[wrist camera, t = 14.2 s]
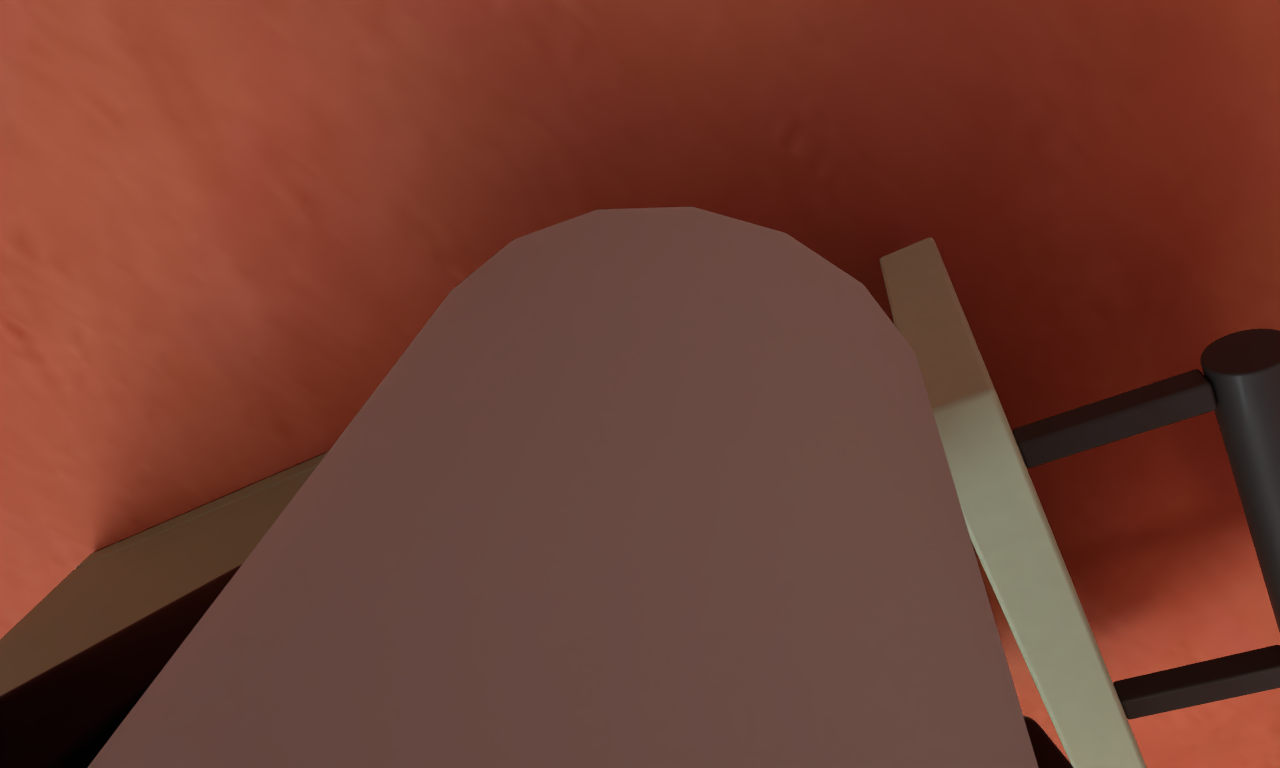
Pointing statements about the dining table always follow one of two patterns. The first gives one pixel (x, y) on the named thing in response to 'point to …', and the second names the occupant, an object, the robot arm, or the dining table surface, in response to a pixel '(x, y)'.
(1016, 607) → the drawer
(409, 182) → the dining table surface
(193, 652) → the can
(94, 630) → the cabinet
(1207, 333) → the dining table surface
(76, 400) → the dining table surface
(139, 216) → the dining table surface
